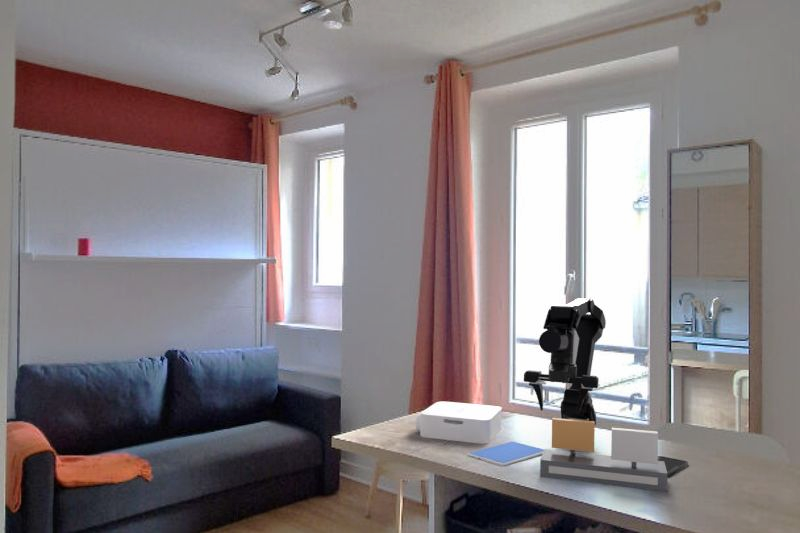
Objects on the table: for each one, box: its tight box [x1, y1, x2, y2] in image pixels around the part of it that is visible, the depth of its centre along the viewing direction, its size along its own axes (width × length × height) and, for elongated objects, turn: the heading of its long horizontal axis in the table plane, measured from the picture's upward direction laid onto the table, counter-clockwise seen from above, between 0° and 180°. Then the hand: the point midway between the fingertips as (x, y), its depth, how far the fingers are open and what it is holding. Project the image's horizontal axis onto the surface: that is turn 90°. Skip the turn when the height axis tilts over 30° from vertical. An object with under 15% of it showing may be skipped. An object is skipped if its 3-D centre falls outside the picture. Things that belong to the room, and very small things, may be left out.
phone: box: [658, 455, 689, 478], centre depth 163 cm, size 8×1×15 cm
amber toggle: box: [551, 417, 596, 454], centre depth 158 cm, size 2×10×8 cm, turn 72°
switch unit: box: [539, 448, 668, 492], centre depth 154 cm, size 10×28×4 cm, turn 72°
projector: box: [415, 400, 503, 444], centre depth 195 cm, size 21×22×7 cm
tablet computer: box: [467, 441, 545, 467], centre depth 172 cm, size 19×13×1 cm, turn 132°
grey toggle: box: [610, 427, 659, 466], centre depth 149 cm, size 2×10×8 cm, turn 71°
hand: (559, 412), depth 169 cm, fingers open, 9 cm apart
